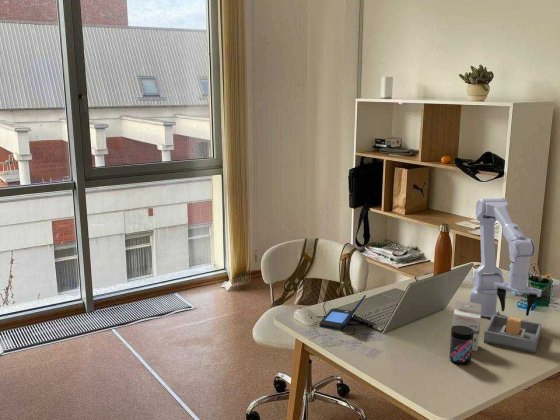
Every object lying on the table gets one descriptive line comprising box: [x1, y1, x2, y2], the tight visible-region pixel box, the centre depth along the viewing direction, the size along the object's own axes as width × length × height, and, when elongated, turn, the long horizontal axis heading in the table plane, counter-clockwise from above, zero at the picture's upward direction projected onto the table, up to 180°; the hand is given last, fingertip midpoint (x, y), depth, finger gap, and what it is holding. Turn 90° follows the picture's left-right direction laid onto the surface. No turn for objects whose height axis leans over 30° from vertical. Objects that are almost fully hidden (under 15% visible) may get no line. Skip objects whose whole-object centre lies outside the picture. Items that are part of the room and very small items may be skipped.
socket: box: [501, 325, 525, 338], centre depth 192 cm, size 7×7×2 cm
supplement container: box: [449, 325, 474, 366], centre depth 176 cm, size 7×7×10 cm
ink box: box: [451, 299, 482, 352], centre depth 185 cm, size 9×5×15 cm, turn 65°
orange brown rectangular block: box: [506, 316, 522, 335], centre depth 192 cm, size 4×4×6 cm
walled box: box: [483, 314, 542, 354], centre depth 192 cm, size 16×16×4 cm
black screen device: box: [319, 294, 367, 332], centre depth 205 cm, size 16×13×9 cm
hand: (515, 312), depth 191 cm, fingers open, 7 cm apart
